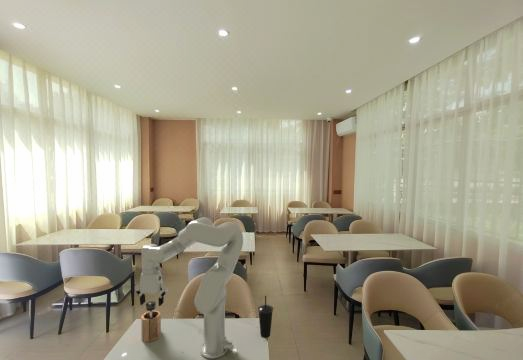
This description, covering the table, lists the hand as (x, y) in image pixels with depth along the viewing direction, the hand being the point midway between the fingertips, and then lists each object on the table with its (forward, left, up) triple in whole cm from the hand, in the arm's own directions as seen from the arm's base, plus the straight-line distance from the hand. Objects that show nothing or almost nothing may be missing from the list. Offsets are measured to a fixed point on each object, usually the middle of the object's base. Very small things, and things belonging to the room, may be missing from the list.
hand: (151, 304), depth 129 cm
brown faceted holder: (+1, 0, -17) cm, 17 cm away
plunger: (+1, 0, -15) cm, 15 cm away
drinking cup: (-55, -10, -17) cm, 59 cm away
